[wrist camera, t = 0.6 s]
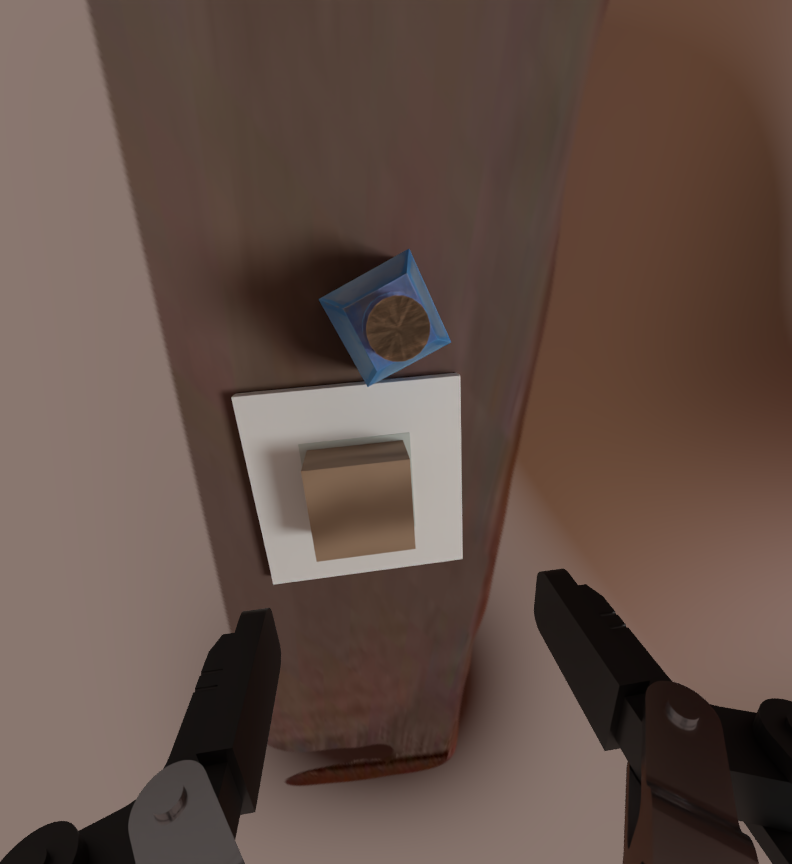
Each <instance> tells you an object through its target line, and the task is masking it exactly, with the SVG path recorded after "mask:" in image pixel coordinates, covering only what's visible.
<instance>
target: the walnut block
mask: <svg viewBox="0 0 792 864" xmlns="http://www.w3.org/2000/svg"><path fill="white" fill-rule="evenodd" d="M301 475H302V481H303V487H304V492H305V498H306V504H307V510H308V515H309V521H310V527H311V533H312V539H313V544H314V550H315V556H316V562H320V561H327V560H335V559H342V558H350V557H358V556H365V555H373V554H381V553H388V552H396V551H403V550H411V549H416V546H415V531H414V515H413V499H412V483H411V467H410V458H409V455H408V452H407V450H406V447H405V444H404V442H403V440H399V441H390V442H380V443H371V444H362V445H353V446H343V447H334V448H325V449H315V450H307V451H306V455H305V458H304V462H303V466H302V469H301Z"/></svg>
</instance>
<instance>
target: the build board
mask: <svg viewBox="0 0 792 864" xmlns="http://www.w3.org/2000/svg"><path fill="white" fill-rule="evenodd" d="M231 399H232V403H233V408H234V412H235V416H236V421H237V425H238V430H239V434H240V439H241V443H242V447H243V452H244V456H245V461H246V465H247V470H248V474H249V478H250V483H251V487H252V492H253V496H254V501H255V505H256V509H257V514H258V518H259V523H260V527H261V532H262V536H263V540H264V545H265V549H266V554H267V558H268V562H269V567H270V571H271V576H272V580H273V584H281V583H288V582H296V581H303V580H310V579H318V578H325V577H333V576H340V575H347V574H355V573H362V572H370V571H377V570H384V569H392V568H399V567H407V566H414V565H422V564H429V563H436V562H444V561H451V560H459V559H463V553H462V474H461V394H460V375H459V374H457V373H448V374H438V375H427V376H416V377H406V378H395V379H384V380H380V381H378V382H376V383H374V384H373V385H371V386H369V387H367V385H366V383H365V381H363V382H353V383H342V384H331V385H321V386H310V387H299V388H289V389H278V390H268V391H257V392H246V393H236V394H234V395H233V396H232V397H231ZM399 440H403V442H404V444H405V447H406V450H407V452H408V455H409V458H410V467H411V483H412V499H413V515H414V531H415V546H416V549H411V550H403V551H396V552H388V553H381V554H373V555H365V556H358V557H350V558H342V559H335V560H327V561H320V562H316V556H315V550H314V544H313V539H312V533H311V527H310V521H309V515H308V510H307V504H306V498H305V492H304V487H303V481H302V475H301V469H302V466H303V462H304V458H305V455H306V451H307V450H315V449H325V448H334V447H343V446H353V445H362V444H371V443H380V442H390V441H399Z"/></svg>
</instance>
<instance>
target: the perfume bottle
mask: <svg viewBox="0 0 792 864" xmlns="http://www.w3.org/2000/svg"><path fill="white" fill-rule="evenodd" d="M319 301H320V303H321V305H322V306H323V308H324V310H325V312H326V313H327V315H328V317H329V319H330V321H331V322H332V324H333V326H334V328H335V330H336V331H337V333H338V335H339V337H340V339H341V340H342V342H343V344H344V346H345V347H346V349H347V351H348V353H349V355H350V356H351V358H352V360H353V362H354V364H355V365H356V367H357V369H358V371H359V372H360V374H361V376H362V378H363V380H364V381H365V383H366V385H367V387H369V386H371V385H373V384H374V383H376V382H378V381H380V380H382V379H384V378H386V377H387V376H389V375H391V374H393V373H395V372H397V371H399V370H400V369H402V368H404V367H406V366H408V365H410V364H412V363H414V362H415V361H417V360H419V359H421V358H423V357H425V356H427V355H428V354H430V353H432V352H434V351H436V350H438V349H440V348H441V347H443V346H445V345H447V344H449V343H451V341H450V339H449V336H448V334H447V332H446V330H445V327H444V325H443V323H442V321H441V319H440V316H439V314H438V312H437V310H436V307H435V305H434V303H433V301H432V299H431V296H430V294H429V292H428V290H427V287H426V285H425V283H424V281H423V279H422V276H421V274H420V272H419V270H418V267H417V265H416V263H415V261H414V259H413V256H412V254H411V252H410V250H409V249H408V250H406V251H404V252H402V253H400V254H399V255H397V256H395V257H393V258H391V259H390V260H388V261H386V262H384V263H382V264H381V265H379V266H377V267H375V268H373V269H372V270H370V271H368V272H366V273H365V274H363V275H361V276H359V277H357V278H356V279H354V280H352V281H350V282H348V283H347V284H345V285H343V286H341V287H339V288H338V289H336V290H334V291H332V292H330V293H329V294H327V295H325V296H323V297H321V298H320V299H319Z"/></svg>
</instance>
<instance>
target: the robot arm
mask: <svg viewBox="0 0 792 864" xmlns="http://www.w3.org/2000/svg"><path fill="white" fill-rule="evenodd" d="M534 615H535V620H536V623H537V627H538V629H539V631H540V633H541V635H542V637H543V639H544V640H545V642H546V644H547V646H548V648H549V650H550V652H551V653H552V655H553V657H554V659H555V661H556V663H557V664H558V666H559V668H560V670H561V672H562V674H563V675H564V677H565V679H566V681H567V682H568V685H569V686H570V688H571V690H572V692H573V694H574V695H575V697H576V699H577V701H578V703H579V705H580V706H581V708H582V710H583V712H584V714H585V716H586V717H587V719H588V721H589V723H590V725H591V727H592V728H593V730H594V732H595V734H596V736H597V737H598V739H599V741H600V743H601V745H602V746H603V748H604V750H605V751H607V750H613V749H619V748H621V750H622V752H623V753H624V755H625V757H626V759H627V760H628V762H627V768H626V796H625V797H626V799H625V825H624V853H623V864H759V862H758V857H757V853H756V850H755V847H754V844H753V842H752V840H751V839H750V837H749V836H748V835H746V834H744V833H742V831H741V829H740V826H739V823H738V820H739V821H743V822H744V823H745V824H746V826H747V827H748V829H749V830H750V832H751V833H752V835H753V836H754V837H755V839H756V840H757V842H758V843H759V845H760V846H761V848H762V849H763V851H764V852H765V853H766V855H767V856H768V858H769V859H770V861H771V862H772V864H792V702H791V701H788V700H784V699H767V700H765V701H764V702H762V704H761V705H760V707H759V709H758V712H757V713H754V712H748V711H742V710H736V709H731V708H725V707H719V706H714V705H711V704H709V703H708V702H707V701H706V700H705V699H704V698H702V697H701V696H700V695H699V694H698V693H696V692H695V691H693V690H691V689H690V688H688V687H686V686H684V685H681V684H679V683H675V682H672V681H671V679H670V678H669V677H668V676H667V675H666V674H665V672H663V670H662V669H661V667H660V666H659V665H658V664H657V663H656V661H655V660H654V659H653V658H652V656H651V655H650V654H649V653H648V651H646V649H645V648H644V647H643V645H642V644H641V643H640V642H639V640H638V639H637V638H636V637H635V635H634V634H633V633H632V632H631V630H630V629H629V628H627V627H626V624H625V623H624V622H623V621H622V619H621V618H620V617H619V616H618V615H616V613H615V611H614V609H613V608H612V607H611V606H610V605H609V603H608V602H607V601H606V600H605V598H604V597H603V596H602V595H600V594H599V593H597V592H596V591H595V590H593V589H592V588H590V587H589V586H587V585H586V584H584V585H577V583H576V582H575V581H574V580H573V578H572V577H571V575H570V574H569V573H568V572H567V571H566V570H565V569H557V570H550V571H542V572H539V573H538V575H537V582H536V593H535V604H534ZM280 666H281V649H280V643H279V639H278V635H277V631H276V627H275V622H274V618H273V614H272V611H271V609H270V608H265V609H258V610H251V611H243V612H242V613H241V615H240V618H239V621H238V624H237V627H236V630H235V633H230V634H223V635H222V636H221V637H220V639H219V640H218V641H217V642H216V644H215V645H214V646H213V647H212V649H211V650H210V651H209V653H208V656H207V658H206V661H205V663H204V666H203V669H202V671H201V676H200V677H199V679H198V682H197V685H196V688H195V693H193V695H192V698H191V701H190V703H189V706H188V709H187V712H186V714H185V716H184V719H183V722H182V724H181V727H180V730H179V733H178V735H177V738H176V740H175V743H174V746H173V748H172V751H171V754H170V756H169V759H168V761H167V763H166V765H165V767H164V769H163V770H161V771H160V772H159V773H157V775H155V776H154V777H153V778H152V779H151V780H150V781H149V782H148V783H147V785H146V786H145V787H144V788H143V790H142V791H141V793H140V794H139V796H138V797H137V799H136V800H134V801H133V802H132V803H130V804H129V805H127V806H126V807H124V808H122V809H120V810H118V811H116V812H114V813H112V814H111V815H109V816H107V817H105V818H103V819H101V820H99V821H97V822H95V823H93V824H92V825H89V826H87V827H85V828H84V829H82V830H80V831H78V830H77V829H76V827H75V826H74V825H73V824H72V823H69V822H67V821H58V822H53V823H50V824H47V825H45V826H43V827H41V828H39V829H37V830H36V831H34V832H33V833H31V834H30V835H28V836H27V837H25V838H24V839H23V840H22V841H21V842H19V843H18V844H17V845H16V846H15V847H14V848H13V849H12V850H11V851H10V852H9V853H8V854H7V855H6V856H5V857H4V858H3V860H2V861H1V862H0V864H245V863H244V860H243V858H242V856H241V853H240V851H239V849H238V846H237V844H236V842H235V837H236V833H237V827H238V823H239V818H240V815H242V814H247V813H253V812H255V810H256V804H257V799H258V793H259V787H260V781H261V776H262V769H263V764H264V758H265V753H266V747H267V742H268V736H269V730H270V724H271V719H272V713H273V707H274V702H275V696H276V690H277V684H278V679H279V673H280Z"/></svg>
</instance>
